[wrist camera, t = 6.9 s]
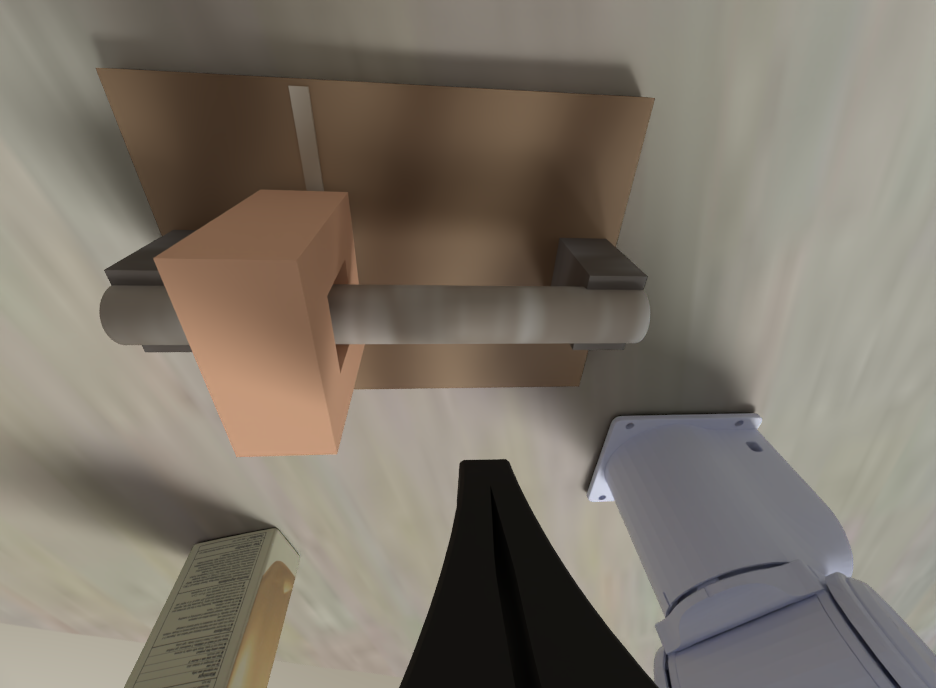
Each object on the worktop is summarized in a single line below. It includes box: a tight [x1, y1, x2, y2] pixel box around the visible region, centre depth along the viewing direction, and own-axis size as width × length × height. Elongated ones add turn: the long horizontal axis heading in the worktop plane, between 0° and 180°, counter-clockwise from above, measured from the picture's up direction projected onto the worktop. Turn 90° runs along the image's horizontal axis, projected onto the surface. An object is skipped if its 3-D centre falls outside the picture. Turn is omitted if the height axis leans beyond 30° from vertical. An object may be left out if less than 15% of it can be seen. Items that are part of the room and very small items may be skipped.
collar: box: [153, 189, 365, 457], centre depth 13 cm, size 3×6×6 cm, turn 177°
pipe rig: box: [96, 68, 655, 389], centre depth 15 cm, size 18×13×6 cm
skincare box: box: [124, 528, 300, 688], centre depth 24 cm, size 6×4×12 cm
